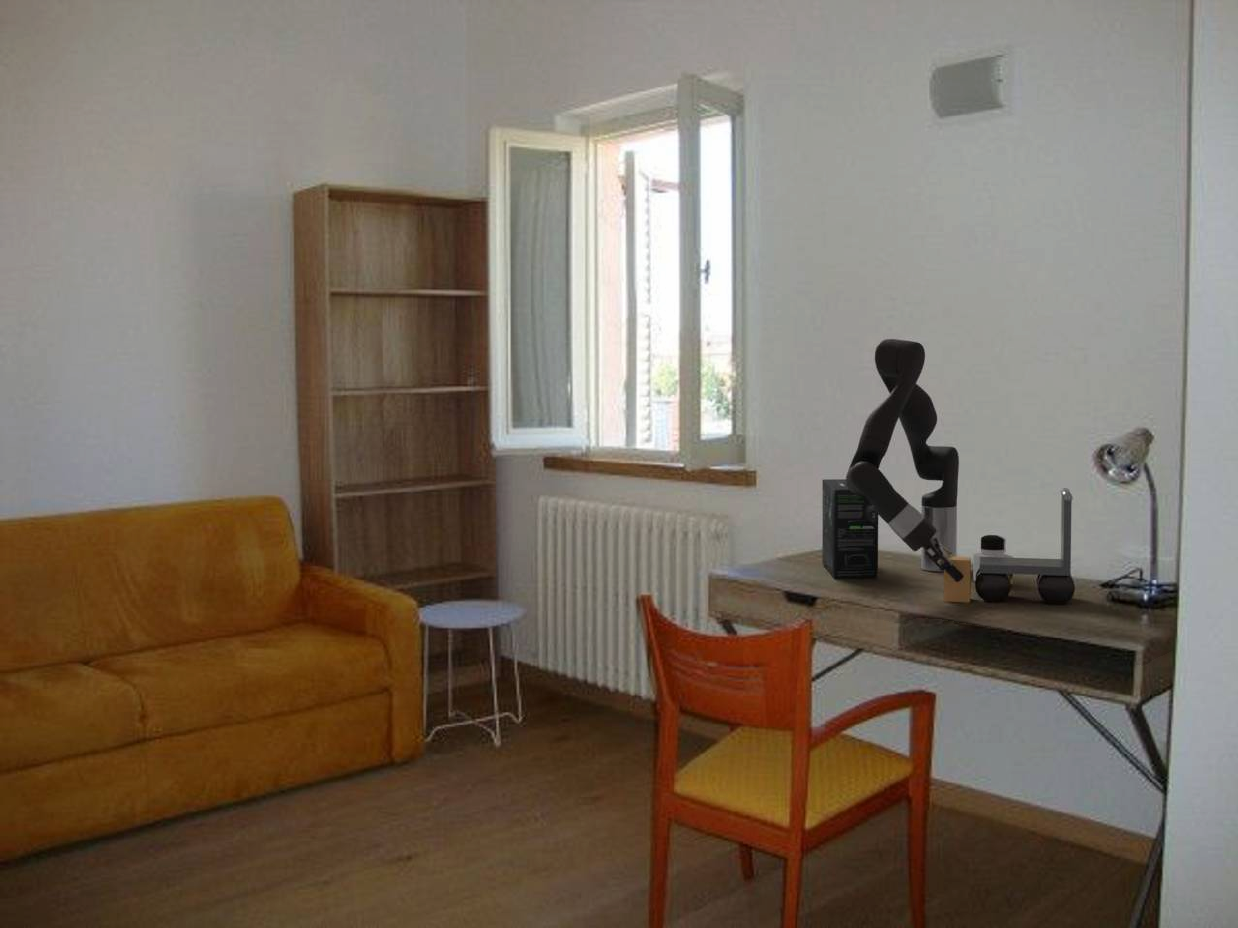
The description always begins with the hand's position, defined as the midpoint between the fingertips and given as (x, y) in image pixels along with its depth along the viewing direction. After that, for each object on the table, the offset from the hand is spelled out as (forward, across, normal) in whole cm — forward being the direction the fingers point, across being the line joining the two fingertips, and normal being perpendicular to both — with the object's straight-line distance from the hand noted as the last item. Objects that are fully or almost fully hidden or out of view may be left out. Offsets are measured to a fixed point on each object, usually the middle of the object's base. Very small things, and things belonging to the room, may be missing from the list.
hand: (961, 576), depth 290 cm
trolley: (+14, +4, -6) cm, 16 cm away
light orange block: (+3, 0, +5) cm, 6 cm away
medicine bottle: (+9, +24, -1) cm, 26 cm away
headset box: (-17, +33, +25) cm, 45 cm away
